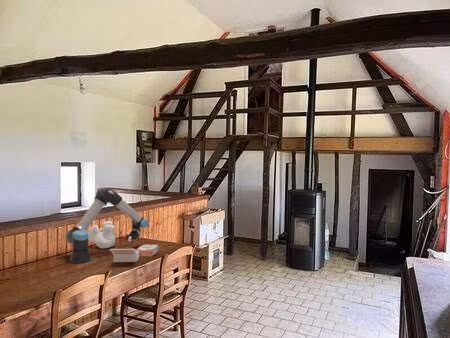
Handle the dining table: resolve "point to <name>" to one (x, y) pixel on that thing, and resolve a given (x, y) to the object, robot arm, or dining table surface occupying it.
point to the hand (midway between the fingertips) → (129, 239)
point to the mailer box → (127, 257)
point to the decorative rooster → (102, 235)
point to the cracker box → (148, 250)
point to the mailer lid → (123, 251)
